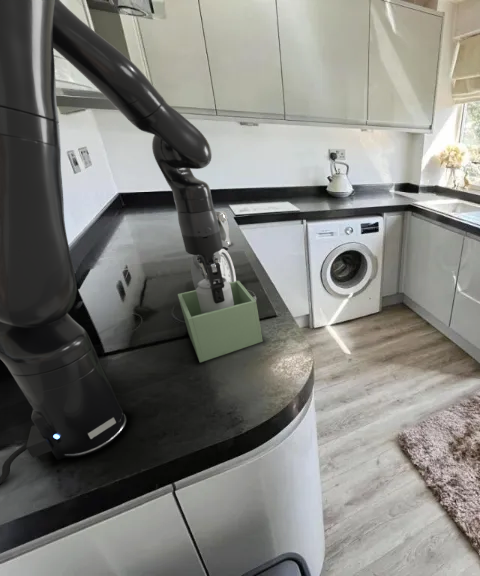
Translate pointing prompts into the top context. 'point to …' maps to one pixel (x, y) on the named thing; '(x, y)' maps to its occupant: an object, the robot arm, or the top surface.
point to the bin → (222, 324)
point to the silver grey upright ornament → (223, 226)
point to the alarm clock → (225, 266)
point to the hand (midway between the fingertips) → (215, 295)
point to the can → (207, 298)
